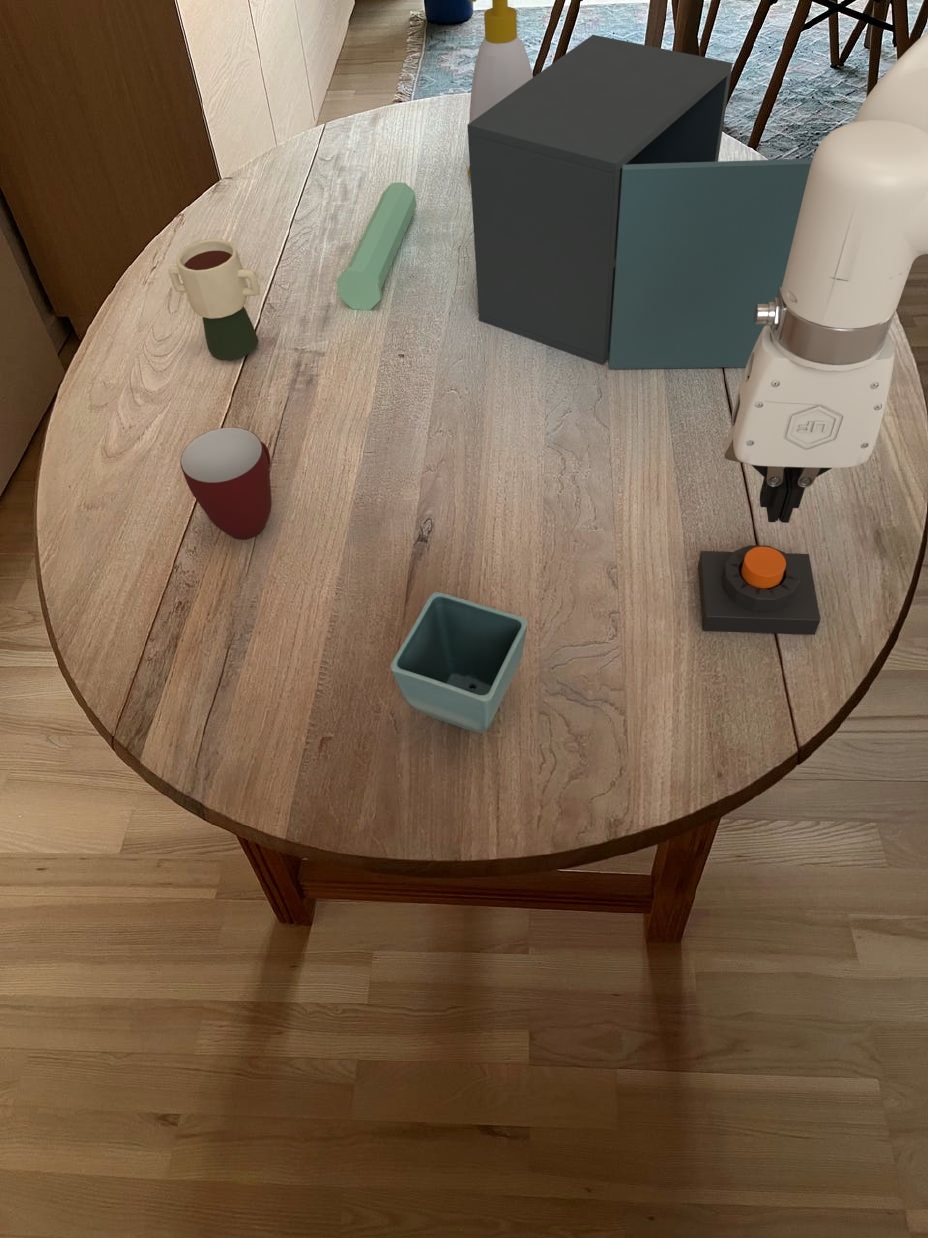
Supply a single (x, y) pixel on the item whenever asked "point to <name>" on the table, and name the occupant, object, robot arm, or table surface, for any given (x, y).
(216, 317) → the character mug
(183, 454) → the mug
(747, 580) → the button
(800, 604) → the button block
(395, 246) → the green octagonal rod
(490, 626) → the flower pot
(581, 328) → the cupboard
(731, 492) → the table surface
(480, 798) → the table surface
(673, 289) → the door
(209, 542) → the table surface
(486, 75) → the soap bottle
